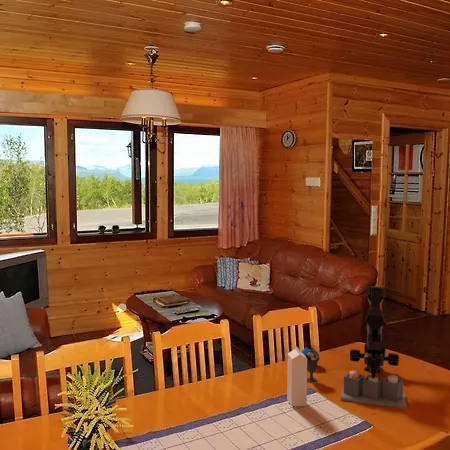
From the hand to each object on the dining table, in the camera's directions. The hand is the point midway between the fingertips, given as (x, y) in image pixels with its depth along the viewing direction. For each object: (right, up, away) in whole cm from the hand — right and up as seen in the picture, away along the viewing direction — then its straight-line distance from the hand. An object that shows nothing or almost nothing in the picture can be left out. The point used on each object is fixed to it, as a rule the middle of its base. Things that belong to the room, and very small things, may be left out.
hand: (373, 377), depth 188 cm
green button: (0, -4, 0) cm, 4 cm away
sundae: (-21, -7, +18) cm, 29 cm away
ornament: (-19, -5, +35) cm, 40 cm away
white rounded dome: (+7, -3, -1) cm, 8 cm away
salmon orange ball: (-7, -3, +3) cm, 8 cm away
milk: (-30, -9, -3) cm, 32 cm away
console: (0, -8, +1) cm, 9 cm away
